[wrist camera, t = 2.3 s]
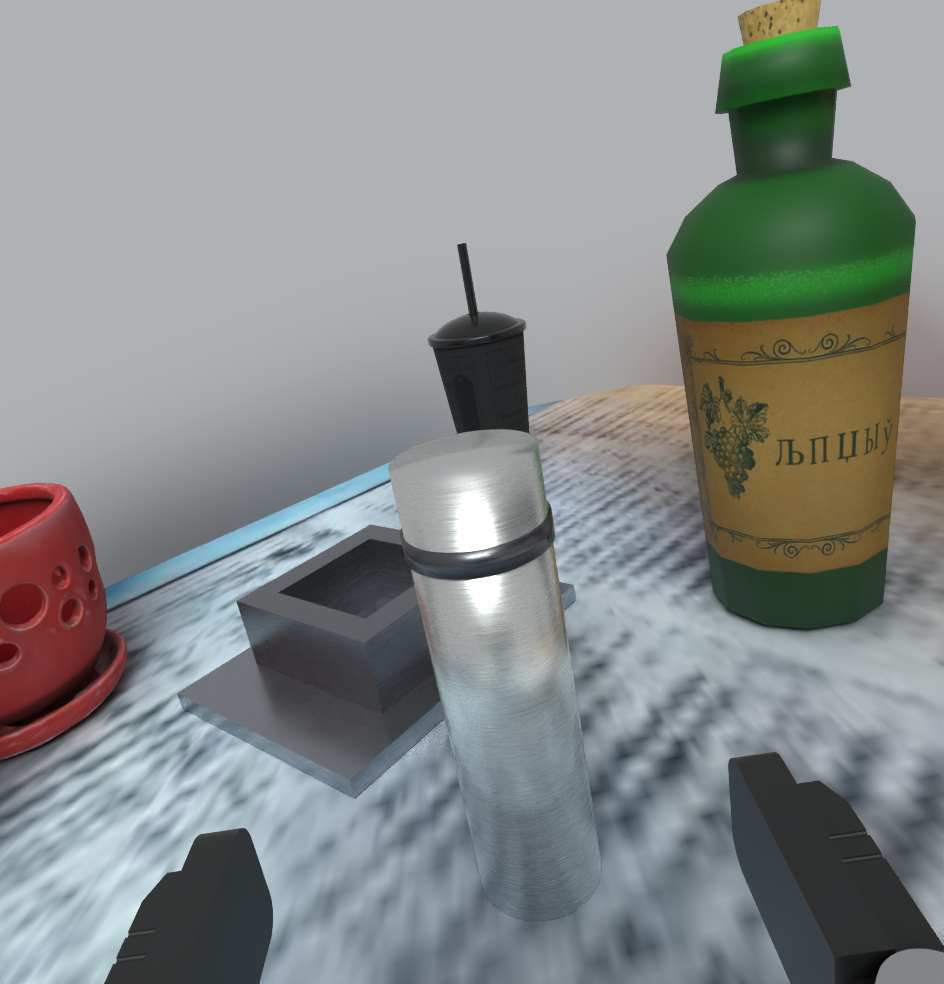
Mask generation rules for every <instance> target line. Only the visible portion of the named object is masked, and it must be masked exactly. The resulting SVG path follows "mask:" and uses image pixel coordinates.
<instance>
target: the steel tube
mask: <svg viewBox="0 0 944 984" xmlns="http://www.w3.org/2000/svg"><path fill="white" fill-rule="evenodd" d="M388 469H389V474H390V478H391V483H392V487H393V492H394V496H395V500H396V505H397V509H398V514H399V518H400V523H401V527H402V528H401V530H400V538H401V542H402V547H403V551H404V556H405V560H406V563H407V565H408V567H409V568H410V569H411V571H412V576H413V580H414V585H415V589H416V594H417V598H418V602H419V607H420V611H421V616H422V620H423V625H424V629H425V633H426V638H427V642H428V647H429V651H430V656H431V660H432V664H433V669H434V673H435V678H436V682H437V687H438V691H439V695H440V700H441V704H442V709H443V713H444V718H445V722H446V726H447V731H448V735H449V740H450V744H451V749H452V753H453V757H454V762H455V766H456V771H457V775H458V780H459V784H460V788H461V793H462V797H463V802H464V806H465V811H466V815H467V819H468V824H469V828H470V833H471V837H472V842H473V846H474V851H475V855H476V859H477V864H478V868H479V873H480V877H481V882H482V886H483V889H484V891H485V894H486V895H487V897H488V899H489V900H490V901H491V902H492V903H493V905H495V906H496V907H497V908H498V909H499V910H501V911H502V912H504V913H506V914H508V915H510V916H512V917H515V918H518V919H522V920H528V921H545V920H552V919H556V918H559V917H562V916H565V915H567V914H569V913H571V912H573V911H575V910H576V909H578V908H579V907H580V906H582V905H583V904H584V903H585V902H586V901H587V900H588V899H589V898H590V897H591V895H592V894H593V893H594V891H595V889H596V888H597V886H598V883H599V881H600V877H601V869H602V865H601V857H600V850H599V843H598V837H597V830H596V824H595V817H594V810H593V804H592V797H591V790H590V784H589V777H588V771H587V764H586V757H585V751H584V744H583V738H582V731H581V724H580V718H579V711H578V705H577V698H576V691H575V685H574V678H573V672H572V665H571V658H570V652H569V645H568V638H567V632H566V625H565V619H564V612H563V605H562V599H561V592H560V586H559V579H558V572H557V566H556V559H555V553H554V546H553V541H554V538H555V530H554V524H553V517H552V510H551V506H550V504H549V503H548V501H547V500H546V493H545V486H544V480H543V473H542V467H541V460H540V453H539V447H538V441H537V439H536V438H535V437H534V436H532V435H531V434H528V433H526V432H522V431H516V430H503V429H494V430H479V431H471V432H464V433H459V434H454V435H449V436H445V437H441V438H438V439H434V440H431V441H428V442H425V443H422V444H420V445H417V446H415V447H412V448H410V449H408V450H406V451H405V452H403V453H401V454H400V455H398V456H397V457H396V458H394V459H393V460H392V461H391V463H390V465H389V468H388Z"/></svg>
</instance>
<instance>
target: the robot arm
mask: <svg viewBox="0 0 944 984" xmlns="http://www.w3.org/2000/svg"><path fill="white" fill-rule="evenodd" d="M728 770H729V786H730V801H731V817H732V831H733V839H734V844H735V849H736V853H737V857H738V860H739V863H740V867H741V869H742V872H743V875H744V877H745V879H746V882H747V884H748V886H749V889H750V891H751V893H752V895H753V898H754V900H755V902H756V905H757V907H758V909H759V912H760V914H761V916H762V919H763V921H764V923H765V925H766V928H767V930H768V932H769V935H770V937H771V939H772V942H773V944H774V946H775V949H776V951H777V953H778V955H779V958H780V960H781V962H782V965H783V967H784V969H785V972H786V974H787V976H788V978H789V981H790V983H791V984H944V946H943V944H942V943H941V941H940V940H939V938H938V937H937V935H936V934H935V932H934V931H933V929H932V928H931V926H930V925H929V923H928V922H927V920H926V919H925V917H924V916H923V914H922V913H921V911H920V910H919V908H918V907H917V905H916V904H915V902H914V901H913V899H912V898H911V896H910V895H909V893H908V892H907V890H906V889H905V887H904V886H903V884H902V883H901V881H900V880H899V878H898V877H897V875H896V874H895V872H894V871H893V869H892V868H891V866H890V865H889V863H888V862H887V860H886V859H885V858H884V859H883V857H882V854H881V851H880V850H879V848H878V847H877V845H876V844H875V842H874V841H873V839H872V838H871V836H870V835H867V832H866V829H865V827H864V826H863V824H862V823H861V821H860V820H859V818H858V817H857V815H856V814H855V812H854V811H853V809H852V808H851V806H850V805H849V803H848V802H847V801H845V800H844V799H843V798H841V797H840V796H839V795H837V794H836V793H835V792H833V791H832V790H831V789H829V788H828V787H827V786H825V785H824V784H823V783H821V782H820V781H813V782H806V783H799V784H797V783H796V781H795V780H794V778H793V776H792V775H791V773H790V771H789V770H788V768H787V766H786V765H785V763H784V761H783V760H782V758H781V757H780V755H779V754H778V753H776V752H772V753H765V754H758V755H751V756H745V757H738V758H731V759H730V760H729V764H728ZM272 928H273V908H272V901H271V896H270V893H269V890H268V887H267V884H266V881H265V878H264V875H263V872H262V869H261V866H260V863H259V860H258V857H257V854H256V851H255V848H254V845H253V842H252V839H251V836H250V834H249V832H248V831H247V830H246V829H245V828H240V829H233V830H227V831H220V832H213V833H206V834H201V835H199V836H197V837H196V839H195V840H194V842H193V844H192V847H191V849H190V851H189V854H188V856H187V858H186V861H185V863H184V865H183V868H182V870H181V871H177V872H170V873H167V874H166V875H165V876H164V877H163V878H162V879H161V880H160V882H159V883H158V884H157V885H156V886H155V887H154V888H153V890H152V891H151V892H150V893H149V894H148V895H147V897H146V898H145V899H144V900H143V901H142V903H141V905H140V908H139V910H138V912H137V914H136V916H135V918H134V920H133V923H132V925H131V927H130V929H129V931H128V933H129V935H128V938H125V940H124V942H123V944H122V946H121V949H120V951H119V953H118V955H117V957H116V958H117V962H116V964H113V966H112V968H111V970H110V972H109V974H108V977H107V979H106V981H105V983H104V984H259V982H260V979H261V975H262V971H263V967H264V963H265V959H266V956H267V952H268V948H269V944H270V940H271V935H272Z"/></svg>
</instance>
